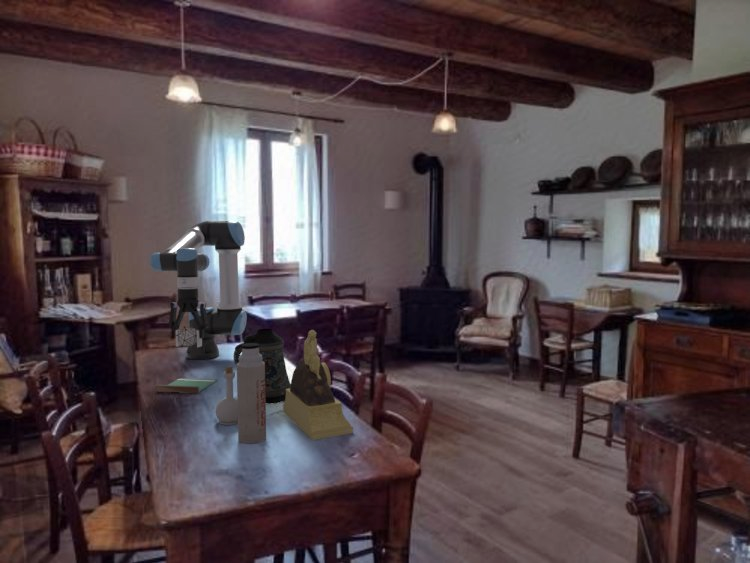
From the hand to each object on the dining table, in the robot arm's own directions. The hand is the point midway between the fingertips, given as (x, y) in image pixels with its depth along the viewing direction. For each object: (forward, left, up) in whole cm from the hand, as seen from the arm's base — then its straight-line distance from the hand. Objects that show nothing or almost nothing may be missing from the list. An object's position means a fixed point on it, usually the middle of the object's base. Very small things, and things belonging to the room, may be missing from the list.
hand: (189, 346), depth 217 cm
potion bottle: (+37, +32, -16) cm, 52 cm away
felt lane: (+1, 0, -15) cm, 15 cm away
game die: (0, 0, -1) cm, 1 cm away
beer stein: (+12, +35, -16) cm, 40 cm away
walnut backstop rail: (+10, 0, -15) cm, 18 cm away
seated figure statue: (+34, +59, -16) cm, 70 cm away
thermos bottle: (+50, +44, -16) cm, 69 cm away
